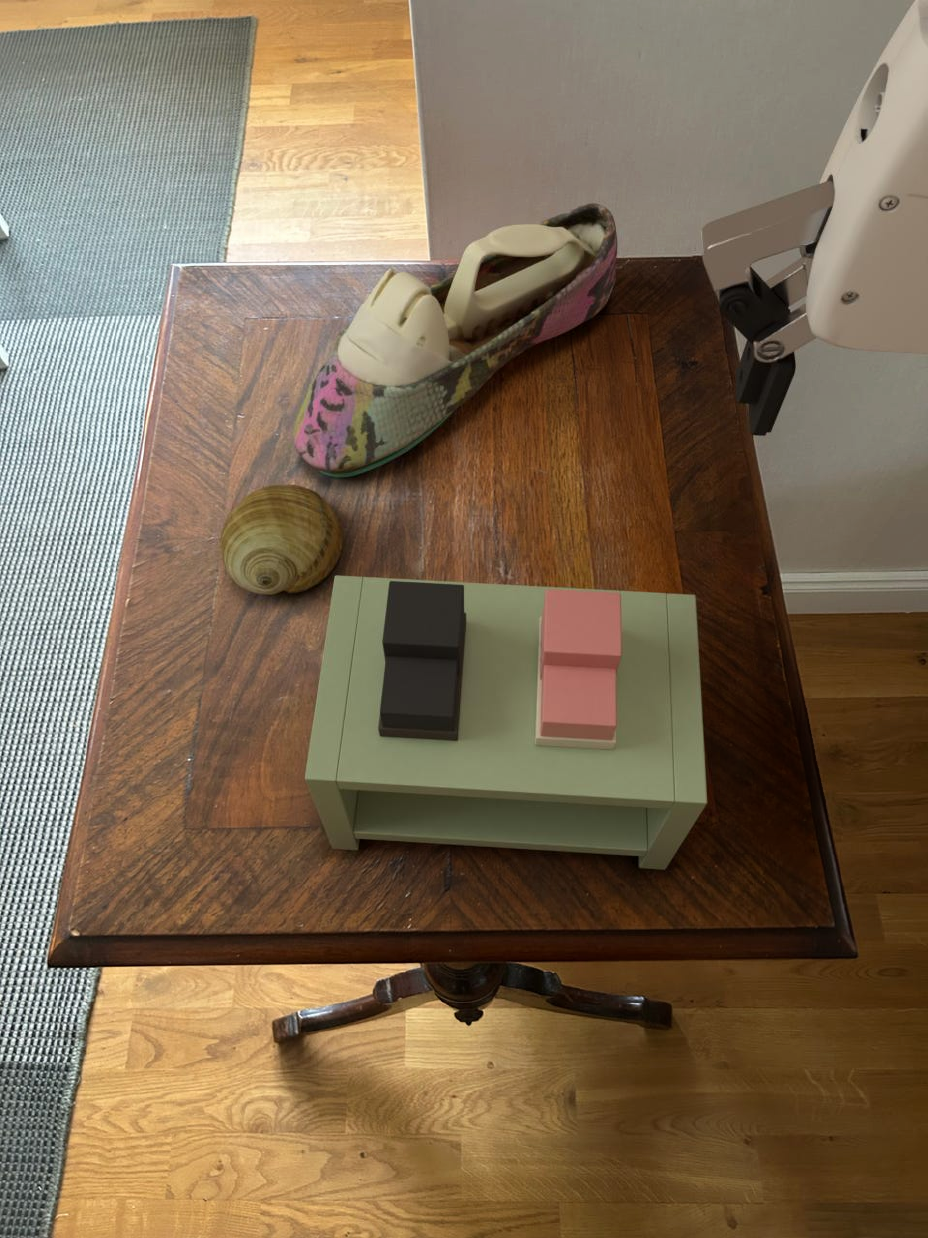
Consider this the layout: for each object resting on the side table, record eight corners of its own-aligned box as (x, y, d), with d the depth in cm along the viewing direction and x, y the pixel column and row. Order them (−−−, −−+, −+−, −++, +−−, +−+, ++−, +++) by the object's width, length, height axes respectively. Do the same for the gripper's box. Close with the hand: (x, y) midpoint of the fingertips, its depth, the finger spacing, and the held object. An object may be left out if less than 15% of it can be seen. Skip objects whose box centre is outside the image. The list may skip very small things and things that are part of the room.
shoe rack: (659, 688, 66) (695, 594, 56) (665, 870, 60) (707, 803, 50) (355, 670, 67) (334, 574, 56) (332, 849, 61) (304, 779, 50)
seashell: (292, 541, 77) (207, 485, 72) (358, 491, 73) (274, 430, 68) (290, 640, 70) (196, 587, 65) (362, 591, 67) (270, 531, 62)
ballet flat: (259, 423, 77) (230, 317, 68) (556, 247, 86) (568, 131, 77) (341, 511, 73) (322, 410, 64) (643, 316, 82) (666, 203, 73)
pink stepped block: (538, 625, 55) (543, 584, 51) (612, 629, 55) (623, 588, 51) (534, 745, 51) (540, 711, 48) (613, 750, 51) (625, 716, 47)
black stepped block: (392, 617, 55) (387, 576, 51) (466, 621, 55) (466, 580, 51) (379, 736, 51) (372, 702, 48) (457, 741, 51) (457, 707, 48)
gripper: (786, 43, 24) (664, 478, 39) (1529, 69, 24) (1118, 501, 39) (761, -118, 28) (658, 336, 43) (1404, -98, 27) (1073, 355, 42)
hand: (876, 414), depth 41 cm, fingers open, 9 cm apart
